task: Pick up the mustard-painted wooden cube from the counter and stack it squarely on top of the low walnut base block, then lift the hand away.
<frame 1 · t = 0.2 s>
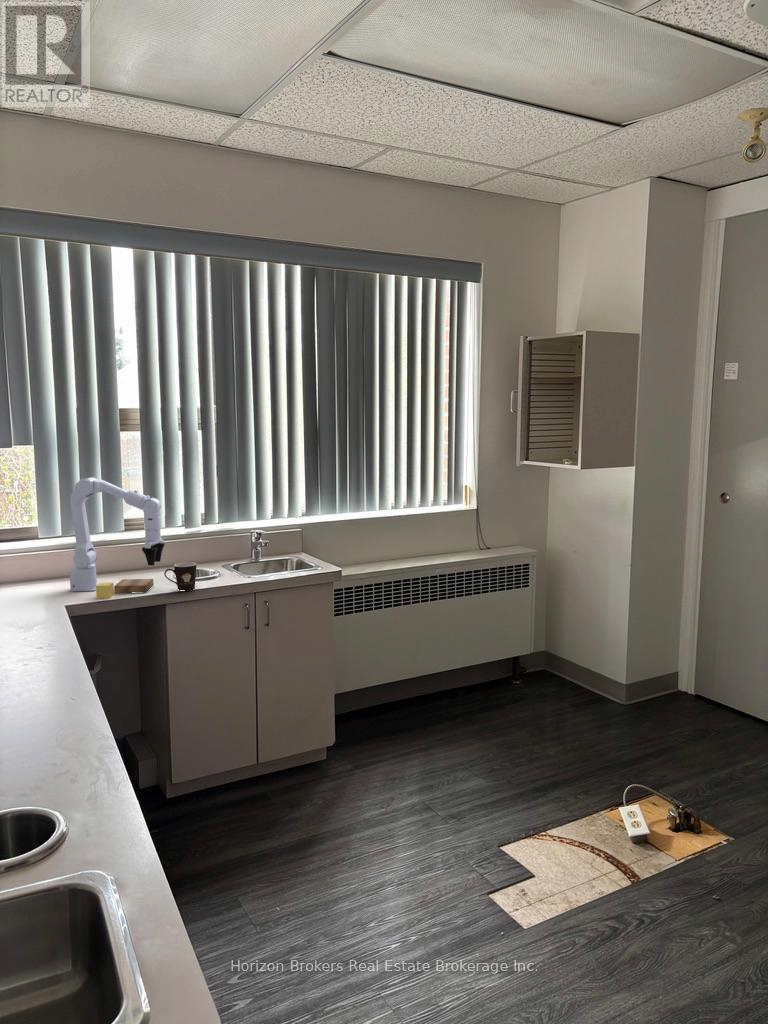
hand: (154, 563, 304), 10 cm above the counter, tool pointing down, fingers open, 7 cm apart
walnut base: (134, 589, 303), on the counter
mustard cube: (105, 597, 291), on the counter
coffee mug: (182, 590, 302), on the counter
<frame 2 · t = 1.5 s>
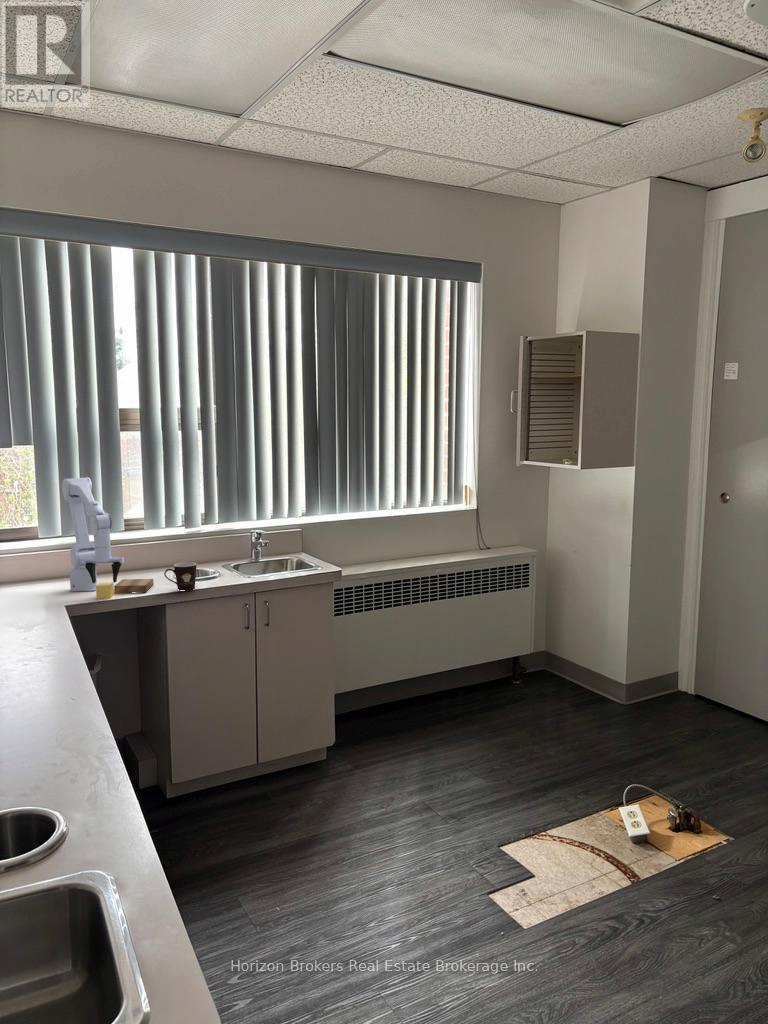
hand: (104, 582, 290), 6 cm above the counter, tool pointing down, fingers open, 7 cm apart
nothing on the counter moved.
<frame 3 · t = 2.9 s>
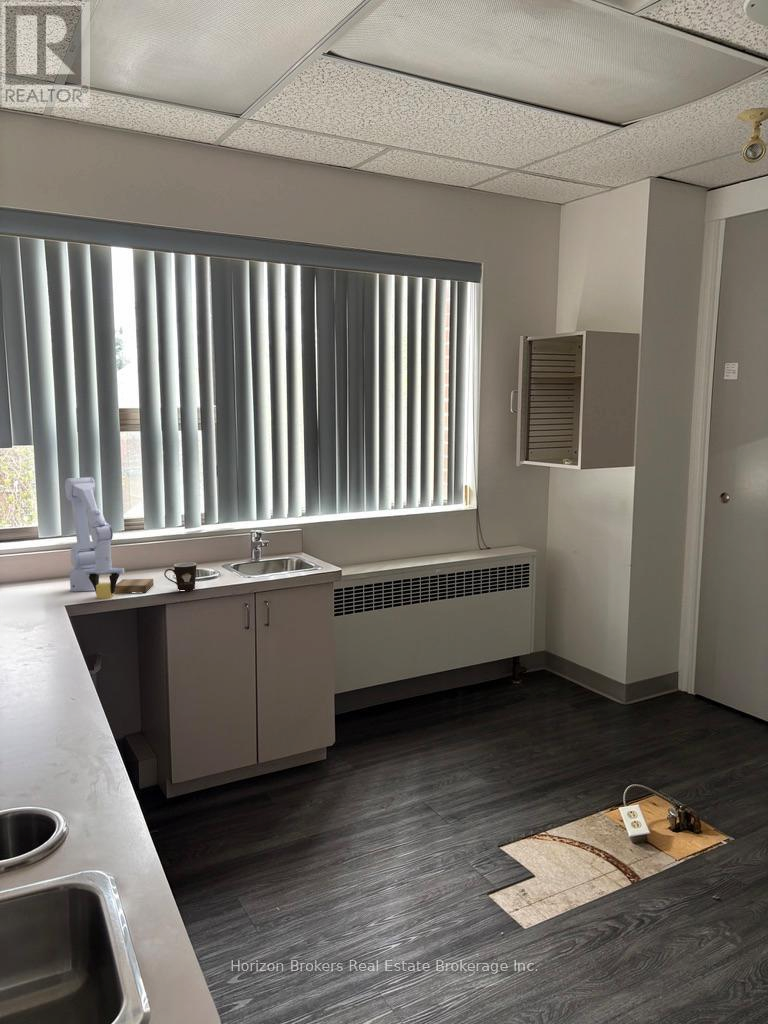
hand: (105, 593, 291), 1 cm above the counter, tool pointing down, fingers closed on mustard cube, 5 cm apart
mustard cube: (105, 596, 291), on the counter, touching gripper
everything else where it was.
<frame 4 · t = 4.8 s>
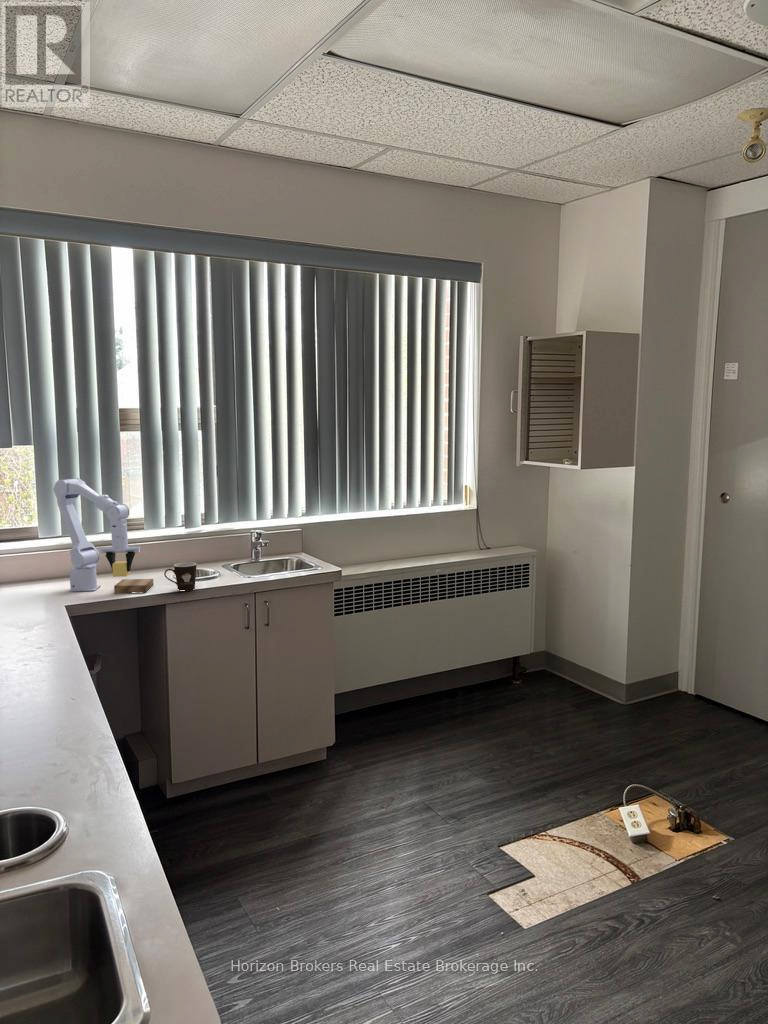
hand: (121, 571, 297), 8 cm above the counter, tool pointing down, fingers closed on mustard cube, 5 cm apart
mustard cube: (121, 575, 297), point 7 cm above the counter, touching gripper
everything else where it was.
when the fingers open (6 cm above the counter, at t = 6.6 s): mustard cube drops 1 cm, resting on walnut base.
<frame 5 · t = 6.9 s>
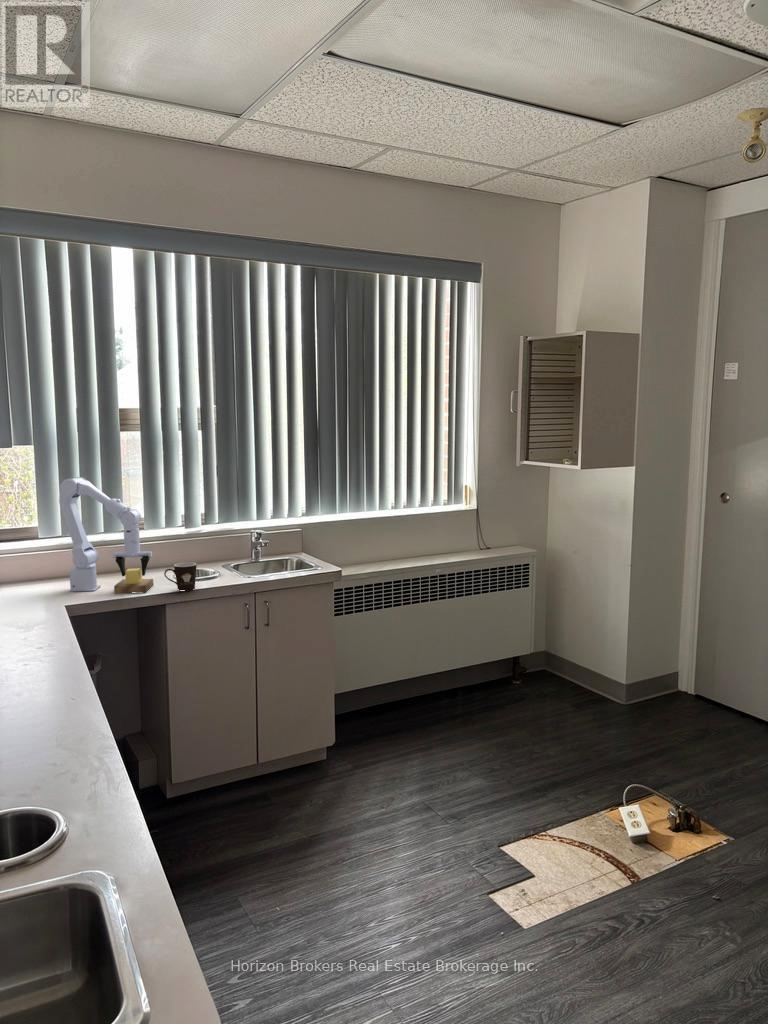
hand: (133, 575, 302), 6 cm above the counter, tool pointing down, fingers open, 7 cm apart
mustard cube: (134, 582, 302), point 3 cm above the counter, touching walnut base
everything else where it was.
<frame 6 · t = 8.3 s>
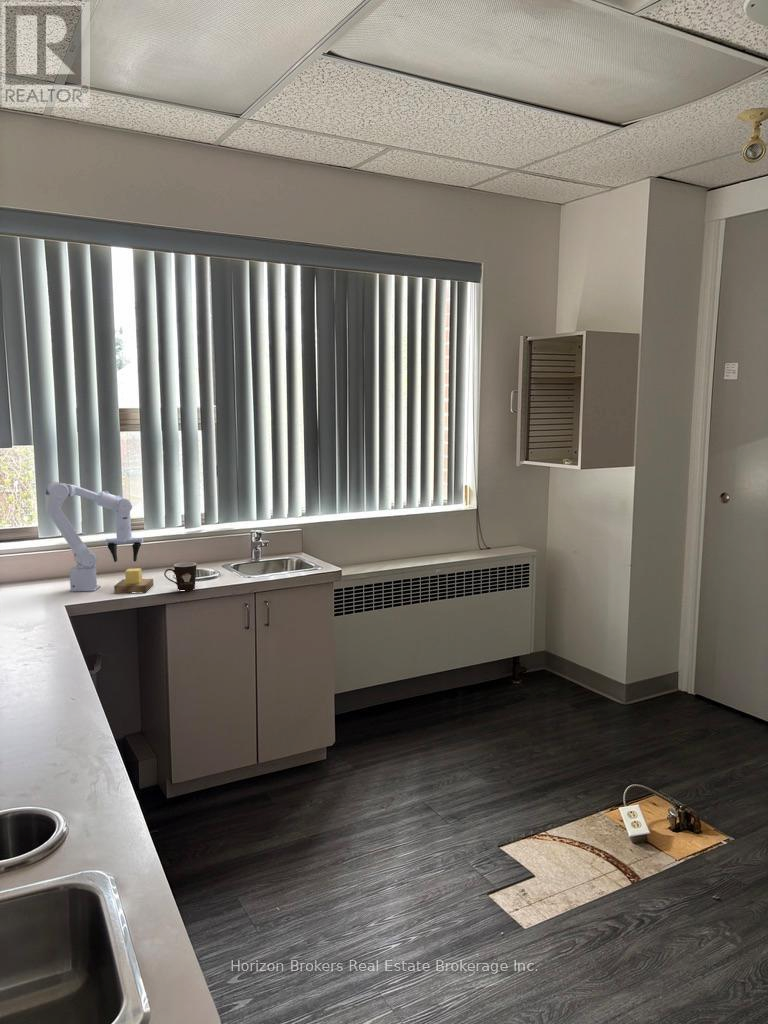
hand: (125, 561, 312), 9 cm above the counter, tool pointing down, fingers open, 7 cm apart
nothing on the counter moved.
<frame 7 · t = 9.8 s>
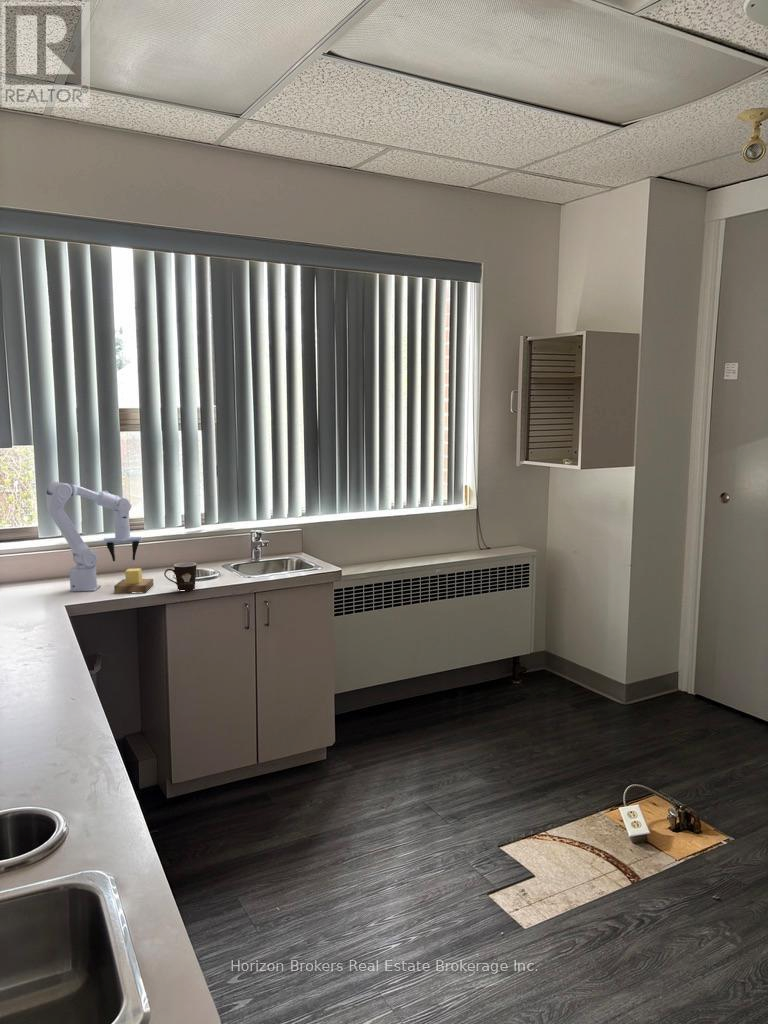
hand: (124, 560, 314), 9 cm above the counter, tool pointing down, fingers open, 7 cm apart
nothing on the counter moved.
at the end: mustard cube inside the target area on the walnut base (0.2 cm from its centre), point 3.0 cm above the walnut base's base; mustard cube tilted 0°; the gripper is holding nothing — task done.
